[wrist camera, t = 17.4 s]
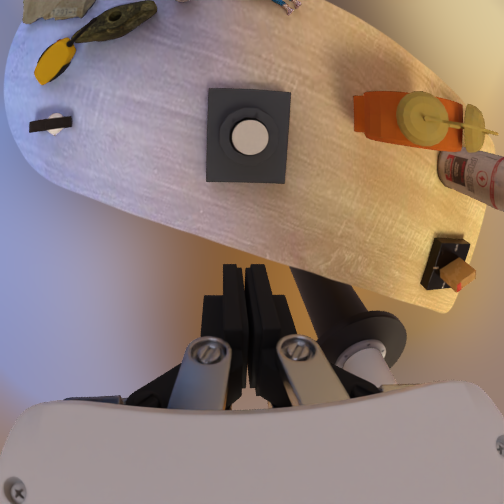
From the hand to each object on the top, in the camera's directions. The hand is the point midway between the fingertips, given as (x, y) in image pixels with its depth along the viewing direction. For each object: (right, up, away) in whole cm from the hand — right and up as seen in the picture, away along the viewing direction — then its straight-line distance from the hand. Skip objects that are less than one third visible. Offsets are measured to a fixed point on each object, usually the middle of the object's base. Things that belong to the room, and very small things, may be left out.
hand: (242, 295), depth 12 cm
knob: (+39, -1, +34) cm, 52 cm away
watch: (-28, +21, +17) cm, 39 cm away
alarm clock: (+20, +22, +24) cm, 38 cm away
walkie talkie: (-31, +28, +15) cm, 44 cm away
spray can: (+35, +17, +28) cm, 48 cm away
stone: (-26, +44, +6) cm, 52 cm away
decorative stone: (-17, +30, +12) cm, 36 cm away
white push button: (0, +15, +20) cm, 25 cm away
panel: (+39, 0, +36) cm, 53 cm away
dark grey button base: (0, +17, +24) cm, 30 cm away
